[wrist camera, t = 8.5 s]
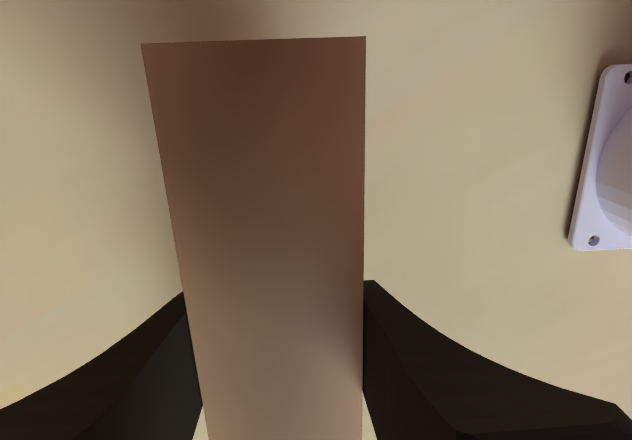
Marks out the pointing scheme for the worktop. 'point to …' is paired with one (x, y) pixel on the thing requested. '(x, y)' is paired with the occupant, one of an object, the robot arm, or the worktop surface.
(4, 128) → the worktop surface
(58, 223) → the worktop surface
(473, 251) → the worktop surface
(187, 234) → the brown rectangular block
